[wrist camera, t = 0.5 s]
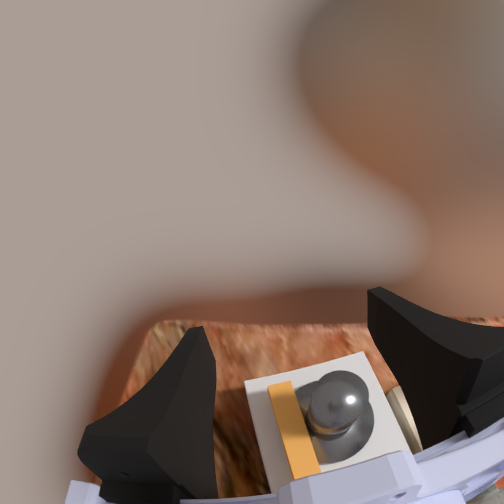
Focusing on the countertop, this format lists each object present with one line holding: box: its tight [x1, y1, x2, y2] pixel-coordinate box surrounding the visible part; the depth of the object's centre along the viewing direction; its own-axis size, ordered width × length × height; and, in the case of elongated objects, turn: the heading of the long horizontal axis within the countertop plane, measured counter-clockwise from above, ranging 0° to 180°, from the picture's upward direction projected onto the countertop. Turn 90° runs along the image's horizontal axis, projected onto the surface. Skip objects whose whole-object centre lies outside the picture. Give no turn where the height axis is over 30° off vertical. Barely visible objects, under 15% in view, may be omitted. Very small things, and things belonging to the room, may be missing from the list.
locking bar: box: [267, 380, 321, 480], centre depth 18 cm, size 15×2×1 cm, turn 12°
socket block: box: [244, 351, 411, 494], centre depth 23 cm, size 12×12×3 cm
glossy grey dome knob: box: [295, 370, 374, 464], centre depth 21 cm, size 8×8×9 cm
